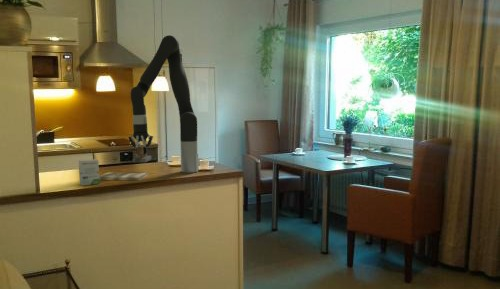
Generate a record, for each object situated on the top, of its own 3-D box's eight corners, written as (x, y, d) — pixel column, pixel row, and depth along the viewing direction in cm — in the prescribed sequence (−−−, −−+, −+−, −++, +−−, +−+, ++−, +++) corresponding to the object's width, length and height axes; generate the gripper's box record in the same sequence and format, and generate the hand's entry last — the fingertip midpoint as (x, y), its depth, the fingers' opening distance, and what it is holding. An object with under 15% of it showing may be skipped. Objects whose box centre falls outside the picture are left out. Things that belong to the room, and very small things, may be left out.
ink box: (97, 182, 223) (96, 158, 221) (99, 183, 219) (98, 160, 217) (79, 183, 219) (78, 160, 217) (81, 185, 214) (79, 161, 213)
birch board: (147, 175, 239) (147, 172, 239) (139, 180, 227) (139, 177, 226) (107, 175, 241) (107, 172, 241) (97, 180, 228) (97, 177, 228)
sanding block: (151, 159, 254) (150, 145, 253) (145, 162, 243) (144, 147, 242) (139, 159, 254) (138, 145, 253) (132, 162, 244) (132, 147, 243)
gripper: (154, 122, 249) (156, 153, 252) (129, 122, 250) (131, 153, 253) (150, 123, 242) (152, 155, 244) (125, 123, 243) (127, 155, 245)
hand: (141, 154), depth 248 cm, fingers closed on sanding block, 3 cm apart
